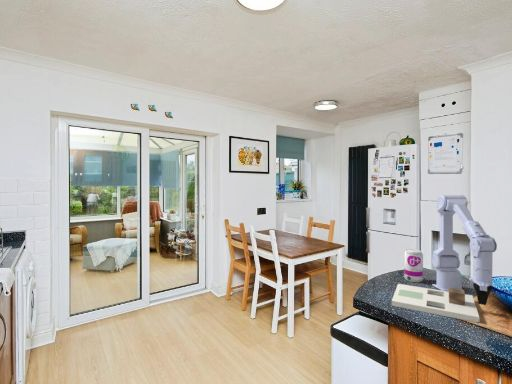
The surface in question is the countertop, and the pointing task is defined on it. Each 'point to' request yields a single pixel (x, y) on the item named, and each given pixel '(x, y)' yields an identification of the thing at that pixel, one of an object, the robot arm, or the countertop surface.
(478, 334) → the countertop surface
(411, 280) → the supplement can
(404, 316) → the countertop surface
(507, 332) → the countertop surface
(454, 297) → the walnut block
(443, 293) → the board
